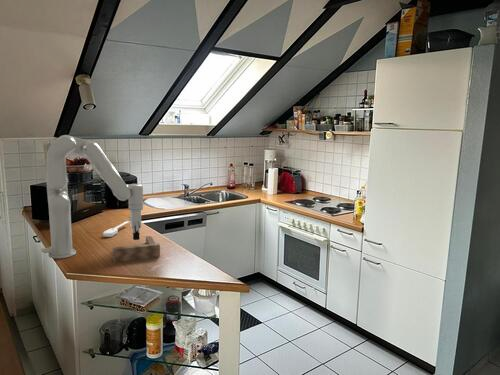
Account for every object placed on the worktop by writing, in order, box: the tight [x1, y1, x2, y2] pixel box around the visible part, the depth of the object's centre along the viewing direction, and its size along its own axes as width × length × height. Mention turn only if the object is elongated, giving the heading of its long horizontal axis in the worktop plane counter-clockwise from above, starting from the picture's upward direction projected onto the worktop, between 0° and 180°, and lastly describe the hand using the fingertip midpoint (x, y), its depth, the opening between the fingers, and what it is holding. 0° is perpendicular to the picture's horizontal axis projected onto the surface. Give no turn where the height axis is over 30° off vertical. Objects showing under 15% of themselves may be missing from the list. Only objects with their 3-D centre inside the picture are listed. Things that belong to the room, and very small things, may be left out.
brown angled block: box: [112, 235, 161, 263], centre depth 201 cm, size 22×26×6 cm
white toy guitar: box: [102, 220, 130, 238], centre depth 236 cm, size 28×6×3 cm, turn 171°
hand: (136, 239), depth 212 cm, fingers closed
